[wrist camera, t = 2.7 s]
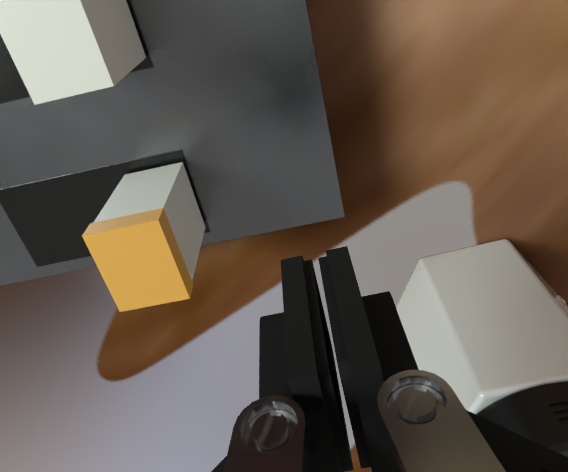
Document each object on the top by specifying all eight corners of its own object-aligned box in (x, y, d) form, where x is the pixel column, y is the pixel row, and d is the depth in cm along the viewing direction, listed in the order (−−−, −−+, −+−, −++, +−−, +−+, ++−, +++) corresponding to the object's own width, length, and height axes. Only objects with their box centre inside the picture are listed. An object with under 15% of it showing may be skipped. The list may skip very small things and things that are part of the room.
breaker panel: (285, -93, 18) (287, -100, 15) (336, 182, 24) (345, 217, 21) (-192, 33, 20) (-274, 50, 17) (-40, 260, 26) (-82, 302, 23)
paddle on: (183, 160, 19) (158, 219, 15) (206, 227, 21) (189, 298, 17) (122, 173, 20) (81, 235, 15) (150, 239, 21) (119, 311, 17)
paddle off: (112, -39, 16) (67, -34, 12) (146, 57, 17) (114, 86, 14) (42, -20, 16) (-21, -10, 13) (81, 73, 18) (34, 104, 14)
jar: (573, 305, 28) (745, 515, 18) (454, 379, 31) (543, 597, 21) (484, 207, 25) (632, 395, 15) (361, 300, 28) (411, 512, 17)
